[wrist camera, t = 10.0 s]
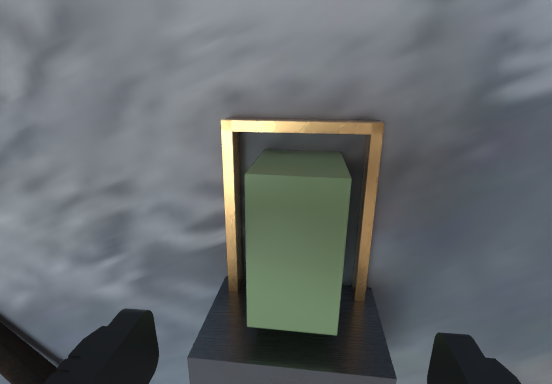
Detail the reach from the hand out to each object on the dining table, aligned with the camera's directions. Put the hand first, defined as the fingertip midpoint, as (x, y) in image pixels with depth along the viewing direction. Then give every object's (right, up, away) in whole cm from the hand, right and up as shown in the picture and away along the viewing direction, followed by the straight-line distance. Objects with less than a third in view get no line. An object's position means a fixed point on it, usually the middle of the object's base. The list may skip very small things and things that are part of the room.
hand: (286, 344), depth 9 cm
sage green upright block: (+1, +3, +11) cm, 12 cm away
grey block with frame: (+1, +1, +12) cm, 12 cm away
